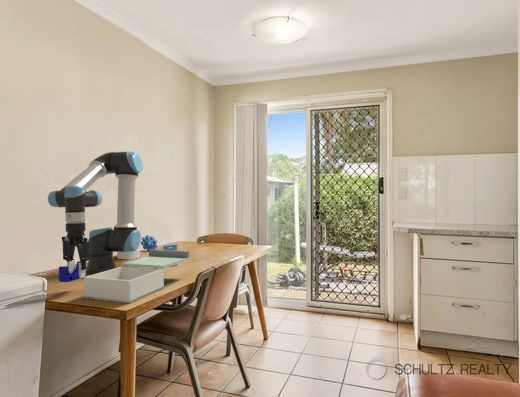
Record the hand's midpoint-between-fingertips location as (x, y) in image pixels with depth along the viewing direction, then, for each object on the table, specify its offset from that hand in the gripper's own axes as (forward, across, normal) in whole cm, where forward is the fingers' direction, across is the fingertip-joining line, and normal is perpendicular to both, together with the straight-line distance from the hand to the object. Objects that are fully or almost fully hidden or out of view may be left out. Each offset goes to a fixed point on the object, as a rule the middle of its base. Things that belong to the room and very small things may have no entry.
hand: (77, 276), depth 152 cm
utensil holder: (+8, -34, +74) cm, 82 cm away
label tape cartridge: (+8, +7, +58) cm, 59 cm away
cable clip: (+1, 0, -2) cm, 2 cm away
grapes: (+8, -37, +100) cm, 107 cm away
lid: (-2, +22, +26) cm, 34 cm away
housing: (+6, +22, +4) cm, 23 cm away
